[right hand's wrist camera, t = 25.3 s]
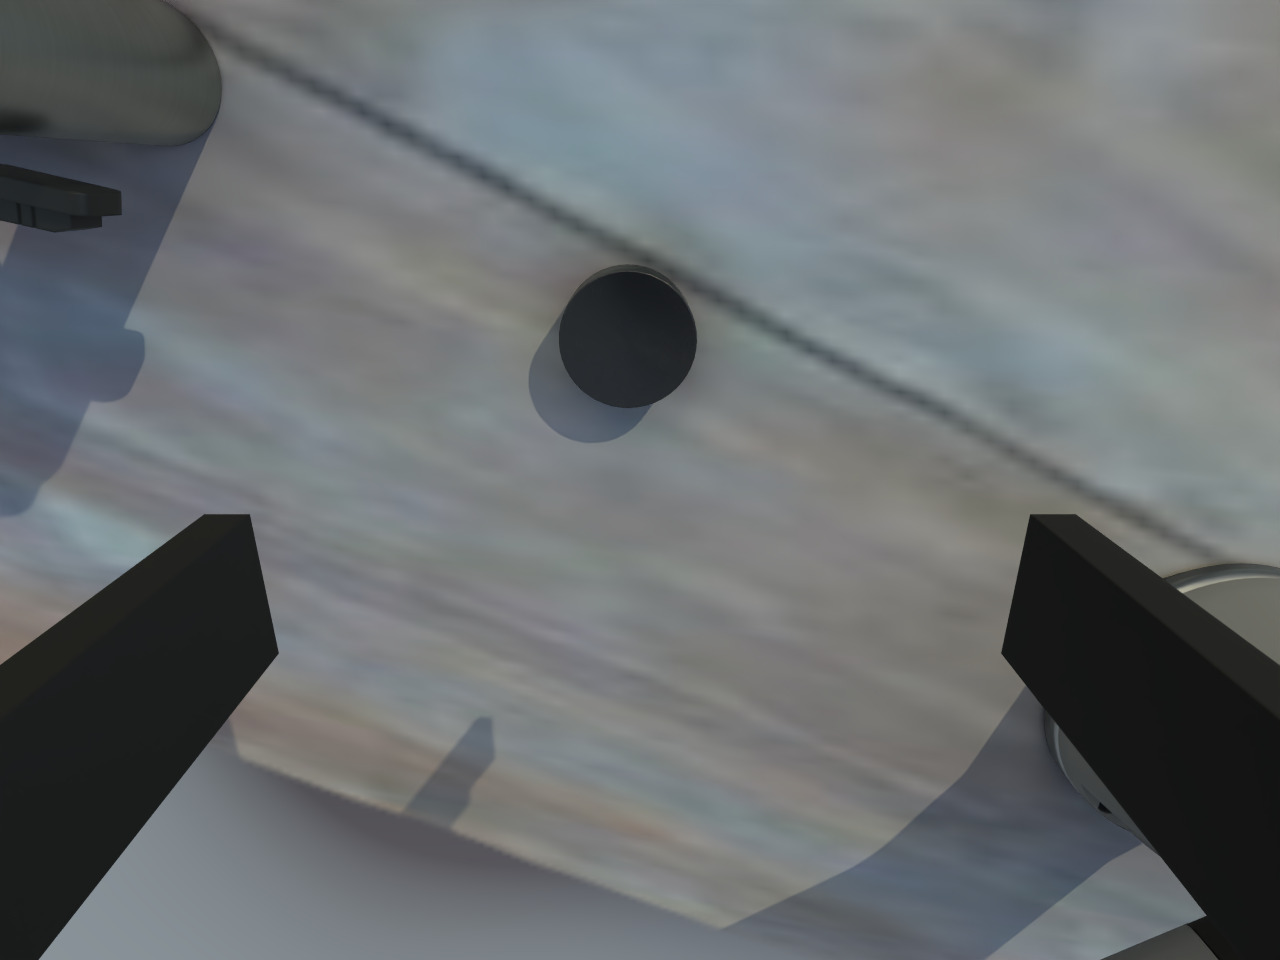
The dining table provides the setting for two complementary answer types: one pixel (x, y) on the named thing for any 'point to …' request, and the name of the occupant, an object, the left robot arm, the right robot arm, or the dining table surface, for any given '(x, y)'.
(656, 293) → the lid
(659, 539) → the dining table surface
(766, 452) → the dining table surface
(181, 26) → the jar
